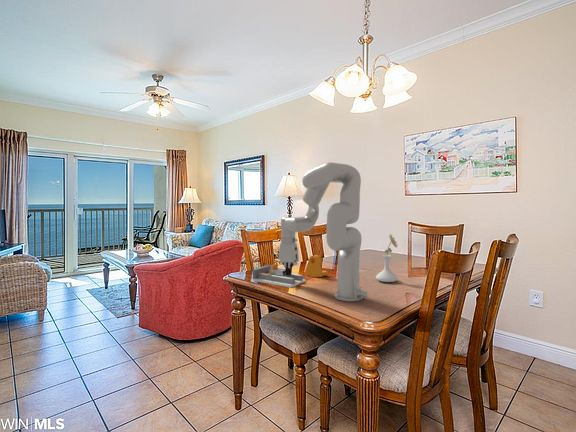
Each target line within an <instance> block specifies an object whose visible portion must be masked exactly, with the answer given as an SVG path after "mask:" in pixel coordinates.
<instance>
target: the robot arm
mask: <svg viewBox="0 0 576 432" xmlns="http://www.w3.org/2000/svg"><path fill="white" fill-rule="evenodd" d="M301 180H302V181H301V182H302V185H303V187H304V188H305V189H306V190H305V192H304V194H303V197H302V201H303V202H304V204H306V205H308V208H307V209H308V210H307V212H306V214H305V216H299V217H293V216H291V217H290V216H284V217H281V219H280V244H279V249H278V260H279V263H280V264H281V265H283V267H284V269H285V273H286V275H287V276H289V275H291V273H292V271H293V267H294V266H298V262H299V261H300V260H299V259H300V257H299V248H298V243H296V242H298V239H297V238H296V233H303V232H308V231H311V230H312V229H313V227H314V226H315V224H316V223H317V221H318V219H319V215H320V207H319V204H320V203H321V201H322V199H323V198H324V195H325V193H326V191H327V189H328V187H329V186H330V183H338V184H342V187H341V189H340V193H339V194H340V195H339V202H336V203H332V205H330V207H329V208H328V210H327V212H326V213H327V214H326V238H325V239H326V244H327V246H328V247H329V249H331V250H333V251H335V252H337V251H338V253H337V254H338V255H337V292H335V293H334V295H333V296H334V298H335V299H336V300H338V301H342V302H360V301H362V300H363V299H364V298H369V293H368V291H364V290H363V289H362V287H360V261H361V260H360V259H361V257H360V254H361V253H360V252H361V247H362V238H363V237H362V234H361V232H360V230H359V229H358V228H356V227H355V226H354V227H353V226H347V225H352V224H355V223H357V222H358V220H359V218H360V208H361V207H360V206H361V205H360V204H361V200H360V199H361V183H362V177H361V174H360V172H359V171H358V169H356V167H354V166H352V165H349V164H346V163H338V162H326V163H323V164H321V165H319V166H317V167H314V168H312V169H310V170H308V171H306V172H305V173H304V174H303V177H302V179H301ZM292 274H293V273H292Z"/></svg>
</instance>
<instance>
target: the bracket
mask: <svg viewBox="0 0 576 432" xmlns="http://www.w3.org/2000/svg"><path fill="white" fill-rule="evenodd" d="M321 263H322V257H321V256H320V254H319V255H318V254H314V255H311V256H310V257H309V259H308V261H307V264H306V267H305V275H308V277H311V278H312V277H313V278H321V277H325V276H327V275H328V270H323V269H322V266H321Z"/></svg>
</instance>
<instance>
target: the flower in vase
mask: <svg viewBox="0 0 576 432" xmlns="http://www.w3.org/2000/svg"><path fill="white" fill-rule="evenodd" d="M388 236H389V237H388V238H389V239H390V242H389V245H388V247H387V249H385V250H384V253H386V254H382V255H381V256H382V258H383V261H384V268H383V269H382V271H380V272H378V273H377V274H376V275H375V278H376V280H378V281H379V282H384V283H393V282H396V281H398V280H399V278H398V276H397V275H396V274H395V273H394V272H393V271H392V270H391V269H390V260H391V258H392V257H393V256H392V254H389V253H392V252H393V251H392V248H390V246H391V244H392V245H393V246H394V247H395V248H398V246H399V245H398V244H397V241H396V239H395V237H393V235H392V234H389V235H388Z"/></svg>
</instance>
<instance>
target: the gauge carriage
mask: <svg viewBox="0 0 576 432" xmlns="http://www.w3.org/2000/svg"><path fill="white" fill-rule="evenodd" d="M270 265H271V273H268V275H270V274H271V275H277V276H283V277H288V276H287V275H286V273H285V268H280V267H279V266H278V265H279V264H278V263H274V264H270Z"/></svg>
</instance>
